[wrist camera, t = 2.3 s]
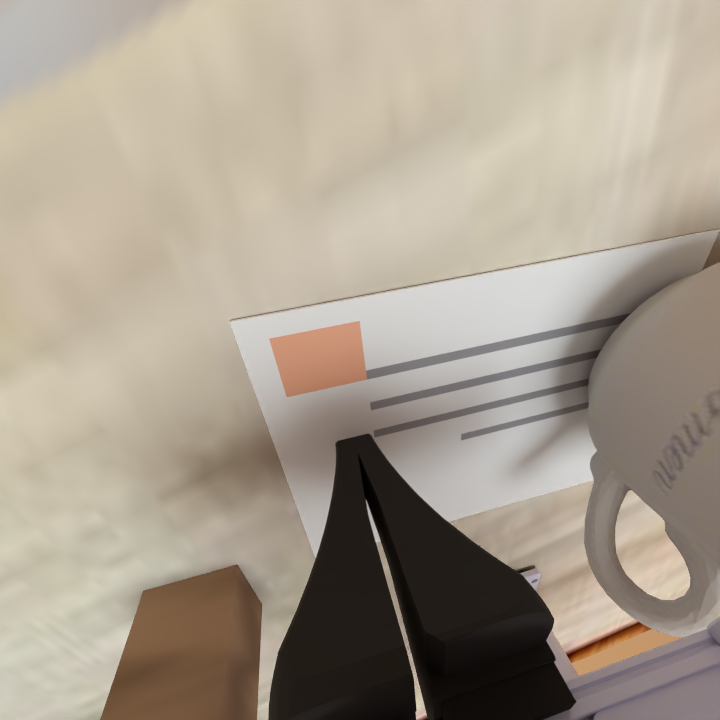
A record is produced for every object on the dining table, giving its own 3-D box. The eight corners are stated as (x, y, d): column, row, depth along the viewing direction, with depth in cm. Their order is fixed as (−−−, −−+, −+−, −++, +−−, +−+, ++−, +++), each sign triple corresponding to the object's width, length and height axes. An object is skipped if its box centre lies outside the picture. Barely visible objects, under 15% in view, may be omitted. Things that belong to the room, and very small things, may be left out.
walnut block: (262, 603, 18) (254, 767, 13) (181, 627, 18) (141, 808, 13) (237, 564, 16) (216, 745, 11) (143, 590, 15) (75, 793, 10)
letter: (608, 474, 19) (609, 475, 19) (315, 557, 17) (315, 560, 17) (716, 229, 12) (720, 229, 12) (229, 320, 10) (229, 322, 10)
